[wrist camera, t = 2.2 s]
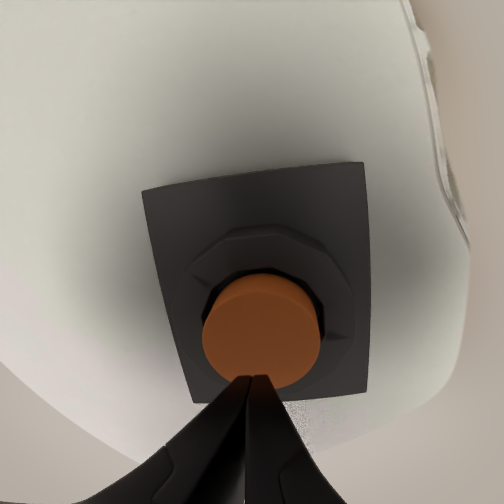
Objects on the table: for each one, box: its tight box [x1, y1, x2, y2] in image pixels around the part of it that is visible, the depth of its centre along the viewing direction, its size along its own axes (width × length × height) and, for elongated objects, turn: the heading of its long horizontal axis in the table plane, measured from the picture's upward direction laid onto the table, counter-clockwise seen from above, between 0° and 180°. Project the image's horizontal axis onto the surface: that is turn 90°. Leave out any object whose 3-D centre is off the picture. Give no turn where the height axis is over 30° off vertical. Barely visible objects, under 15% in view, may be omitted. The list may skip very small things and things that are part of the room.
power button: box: [202, 273, 320, 389], centre depth 11 cm, size 4×4×2 cm
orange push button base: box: [142, 162, 371, 403], centre depth 14 cm, size 11×9×4 cm
